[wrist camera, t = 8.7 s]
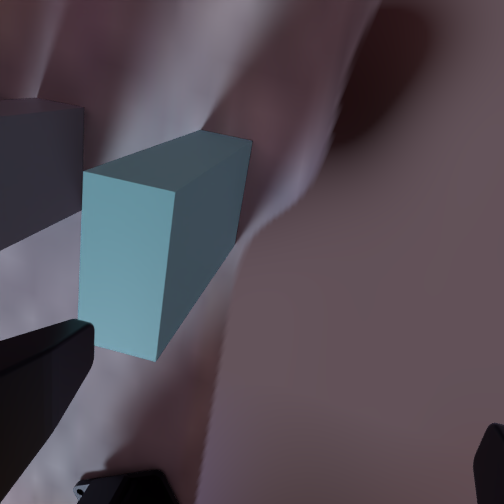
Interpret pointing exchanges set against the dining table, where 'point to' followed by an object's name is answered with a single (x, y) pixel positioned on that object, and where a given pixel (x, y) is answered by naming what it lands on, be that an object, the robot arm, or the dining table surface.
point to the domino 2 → (157, 237)
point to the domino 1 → (38, 165)
